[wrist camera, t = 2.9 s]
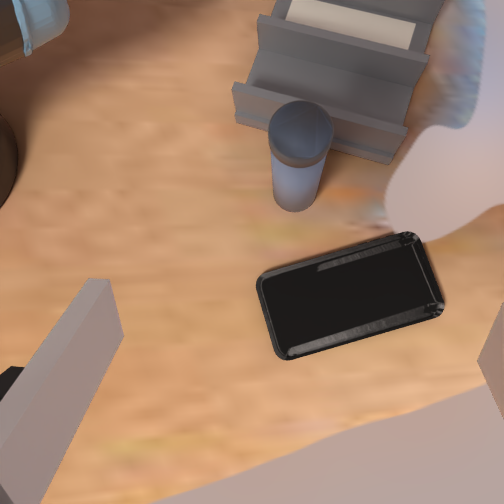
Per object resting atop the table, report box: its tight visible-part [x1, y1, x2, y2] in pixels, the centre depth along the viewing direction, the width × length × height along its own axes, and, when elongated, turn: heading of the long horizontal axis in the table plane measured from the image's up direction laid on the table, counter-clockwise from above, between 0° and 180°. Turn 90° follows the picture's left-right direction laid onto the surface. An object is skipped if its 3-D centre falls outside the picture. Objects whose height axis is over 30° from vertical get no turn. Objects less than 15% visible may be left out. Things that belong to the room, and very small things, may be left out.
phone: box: [256, 231, 444, 360], centre depth 36 cm, size 8×1×15 cm
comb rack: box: [232, 0, 445, 165], centre depth 38 cm, size 15×22×5 cm
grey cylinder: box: [268, 100, 334, 212], centre depth 32 cm, size 4×4×12 cm
